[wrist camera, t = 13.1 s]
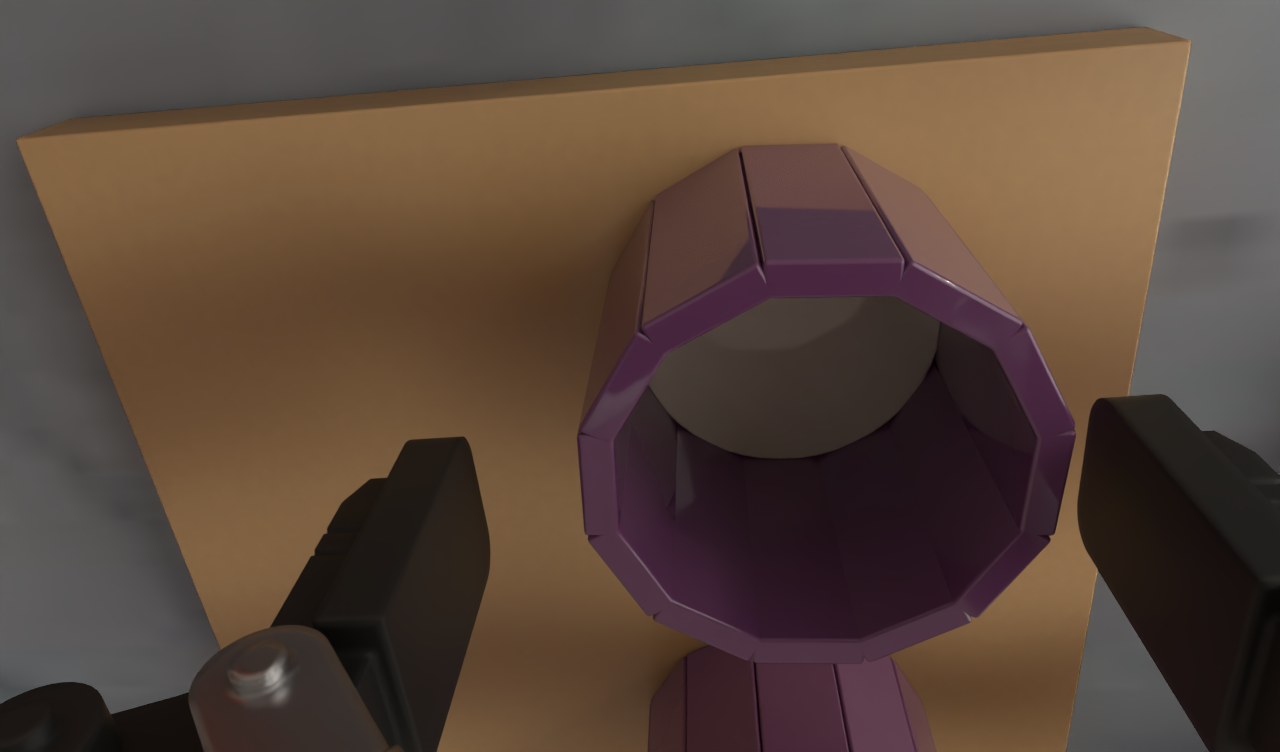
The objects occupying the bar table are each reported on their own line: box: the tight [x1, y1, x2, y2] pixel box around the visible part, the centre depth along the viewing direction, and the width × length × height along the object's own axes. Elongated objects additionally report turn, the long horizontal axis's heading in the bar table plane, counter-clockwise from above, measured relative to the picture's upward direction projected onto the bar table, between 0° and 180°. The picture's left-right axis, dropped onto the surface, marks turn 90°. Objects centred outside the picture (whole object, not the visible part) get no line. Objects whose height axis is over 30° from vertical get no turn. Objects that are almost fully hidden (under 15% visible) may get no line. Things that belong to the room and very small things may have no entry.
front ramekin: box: [576, 143, 1076, 664], centre depth 13 cm, size 6×6×5 cm
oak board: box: [16, 27, 1191, 752], centre depth 20 cm, size 24×18×2 cm
